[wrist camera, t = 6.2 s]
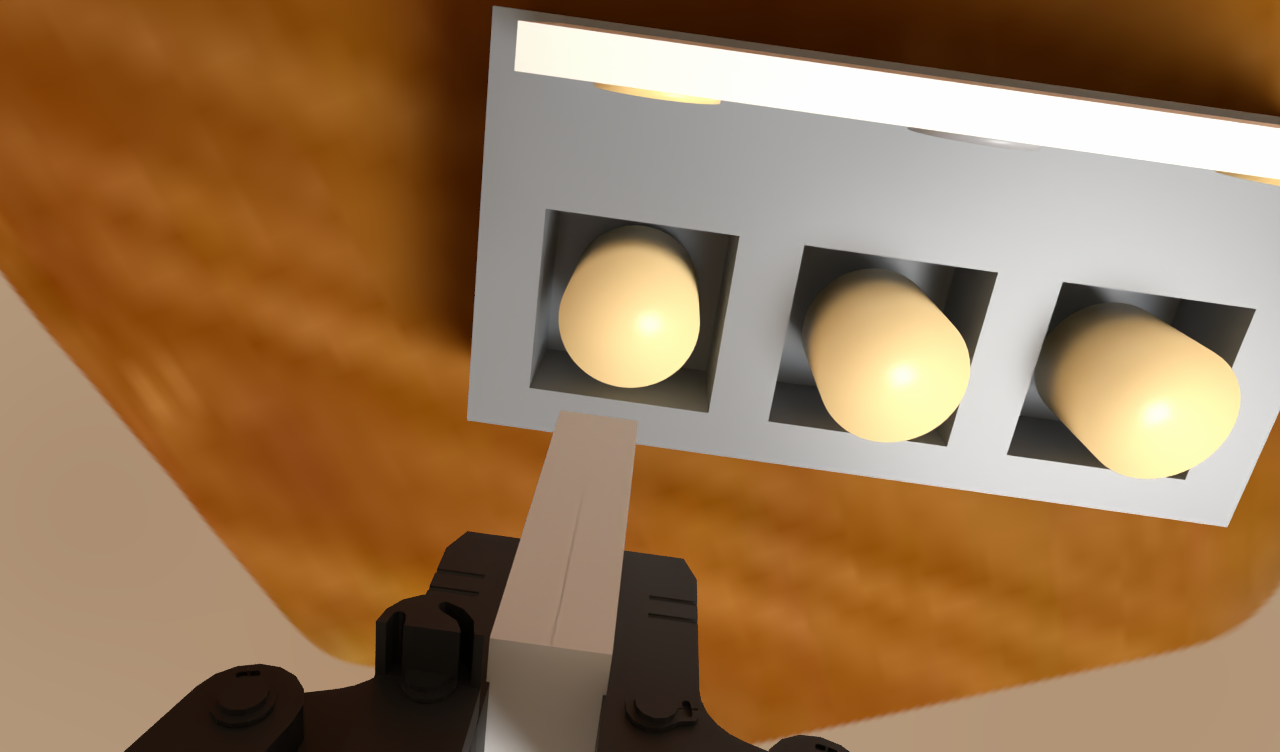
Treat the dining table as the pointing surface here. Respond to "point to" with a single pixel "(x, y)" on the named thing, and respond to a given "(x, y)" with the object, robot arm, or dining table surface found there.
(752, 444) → the console
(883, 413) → the button middle
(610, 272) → the button left
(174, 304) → the dining table surface
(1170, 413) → the button right
